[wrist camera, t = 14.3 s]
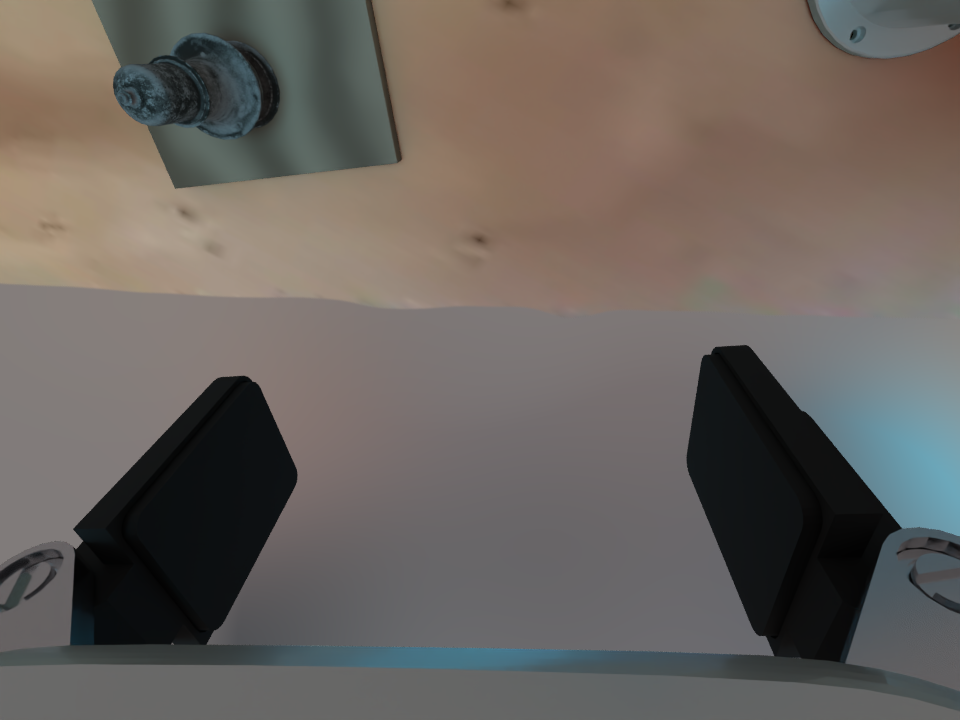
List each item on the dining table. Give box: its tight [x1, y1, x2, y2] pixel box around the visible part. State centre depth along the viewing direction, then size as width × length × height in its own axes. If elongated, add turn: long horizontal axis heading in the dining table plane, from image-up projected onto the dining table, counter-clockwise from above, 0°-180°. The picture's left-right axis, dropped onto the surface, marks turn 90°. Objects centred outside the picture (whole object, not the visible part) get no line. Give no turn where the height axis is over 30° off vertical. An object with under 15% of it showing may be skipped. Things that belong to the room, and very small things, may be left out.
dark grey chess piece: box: [113, 33, 280, 140], centre depth 28 cm, size 6×6×12 cm
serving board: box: [92, 0, 401, 189], centre depth 33 cm, size 18×14×2 cm
